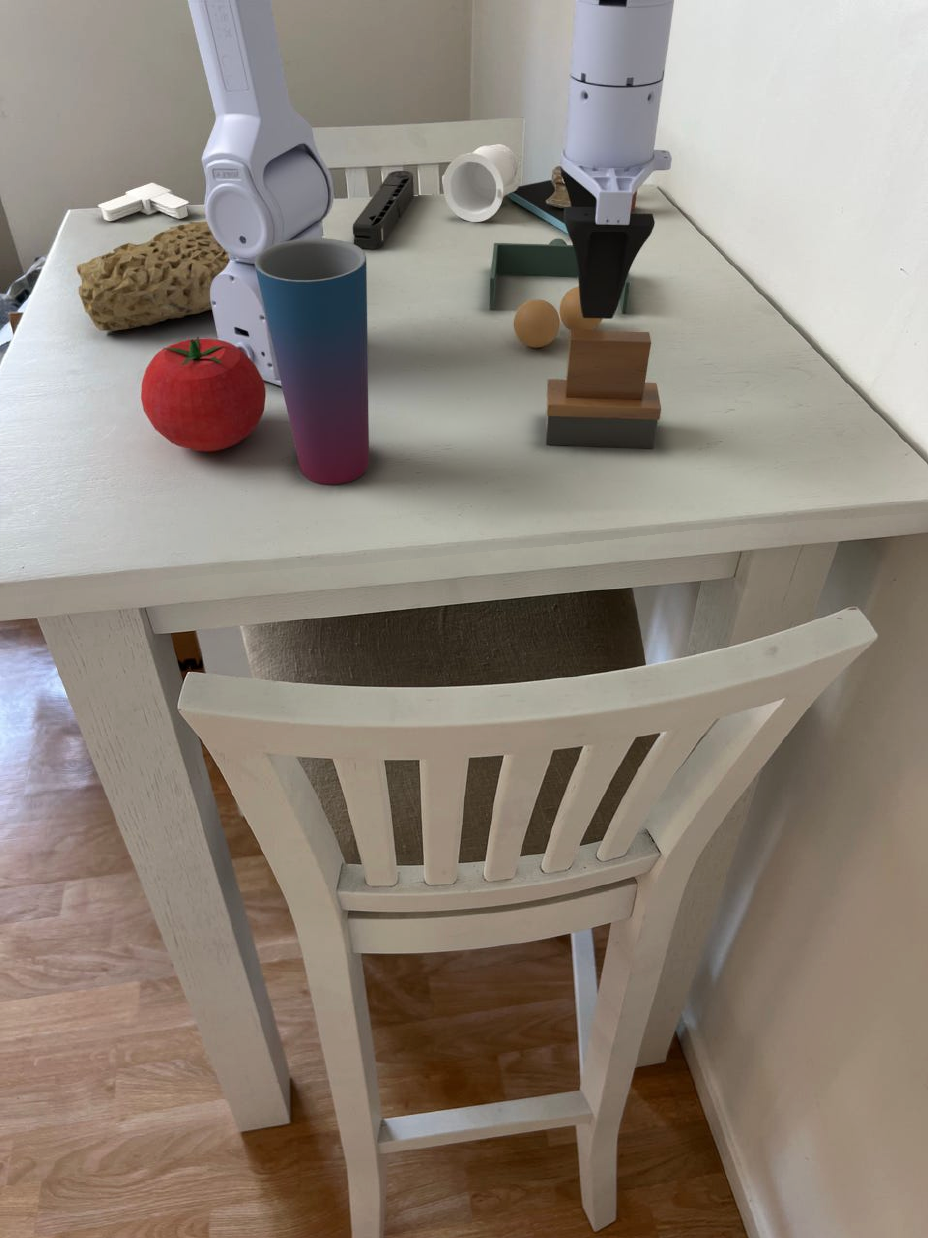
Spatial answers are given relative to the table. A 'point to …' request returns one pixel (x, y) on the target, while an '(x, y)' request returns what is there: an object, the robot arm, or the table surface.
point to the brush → (604, 392)
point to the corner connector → (145, 203)
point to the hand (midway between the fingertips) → (594, 292)
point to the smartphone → (540, 202)
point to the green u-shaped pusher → (538, 264)
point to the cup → (321, 351)
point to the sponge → (153, 278)
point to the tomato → (203, 394)
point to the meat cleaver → (558, 191)
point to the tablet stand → (384, 210)
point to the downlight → (480, 182)
